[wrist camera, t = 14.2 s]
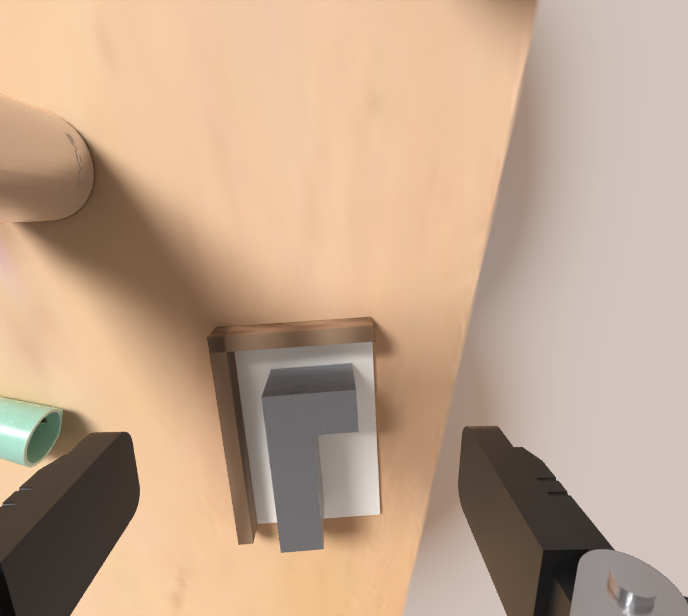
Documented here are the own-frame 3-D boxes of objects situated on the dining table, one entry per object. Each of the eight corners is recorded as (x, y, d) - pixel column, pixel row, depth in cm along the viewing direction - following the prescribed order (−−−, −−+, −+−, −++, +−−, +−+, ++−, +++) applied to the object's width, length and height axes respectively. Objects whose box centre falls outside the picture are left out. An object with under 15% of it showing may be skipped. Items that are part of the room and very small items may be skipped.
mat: (258, 521, 44) (257, 524, 43) (233, 341, 39) (233, 342, 38) (379, 511, 44) (380, 514, 44) (371, 331, 39) (372, 332, 39)
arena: (244, 522, 44) (238, 544, 41) (216, 327, 38) (207, 337, 35) (379, 511, 44) (383, 532, 41) (370, 317, 39) (374, 325, 36)
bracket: (271, 369, 39) (261, 397, 33) (351, 362, 39) (356, 389, 33) (287, 506, 43) (281, 552, 37) (360, 500, 43) (365, 545, 37)
